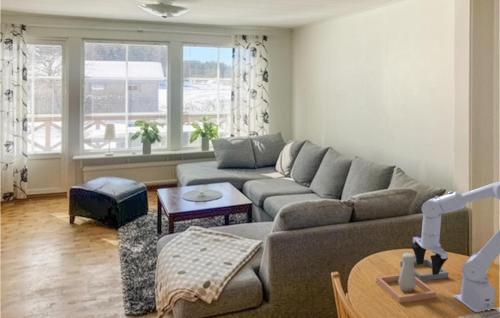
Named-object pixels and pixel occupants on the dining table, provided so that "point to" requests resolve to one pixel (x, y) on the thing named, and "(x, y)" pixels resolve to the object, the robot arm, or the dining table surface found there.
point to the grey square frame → (428, 276)
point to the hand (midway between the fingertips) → (427, 269)
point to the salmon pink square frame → (409, 297)
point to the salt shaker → (407, 273)
